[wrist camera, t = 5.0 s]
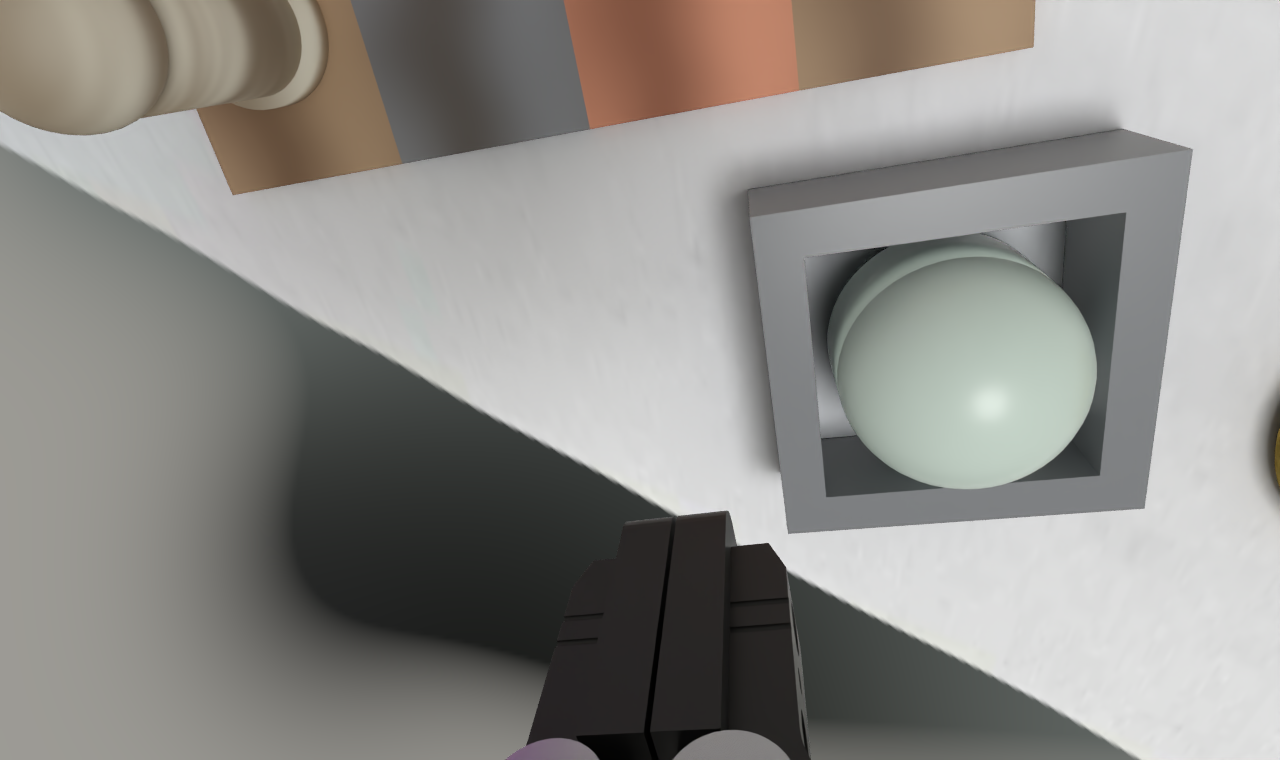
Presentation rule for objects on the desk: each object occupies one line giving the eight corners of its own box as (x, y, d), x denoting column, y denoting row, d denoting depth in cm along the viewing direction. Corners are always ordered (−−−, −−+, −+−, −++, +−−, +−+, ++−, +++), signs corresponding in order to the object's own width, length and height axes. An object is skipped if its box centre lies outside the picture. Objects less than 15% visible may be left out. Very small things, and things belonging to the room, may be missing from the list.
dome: (1046, 208, 24) (1164, 281, 18) (1036, 405, 28) (1132, 529, 21) (816, 241, 26) (844, 321, 19) (832, 425, 29) (860, 548, 22)
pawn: (296, -66, 23) (0, -122, 14) (349, 93, 25) (123, 137, 16) (167, -33, 24) (-190, -64, 15) (228, 117, 26) (-52, 174, 17)
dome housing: (1123, 128, 23) (1192, 148, 20) (1093, 446, 28) (1144, 508, 25) (748, 189, 25) (749, 217, 22) (782, 473, 31) (788, 533, 27)
